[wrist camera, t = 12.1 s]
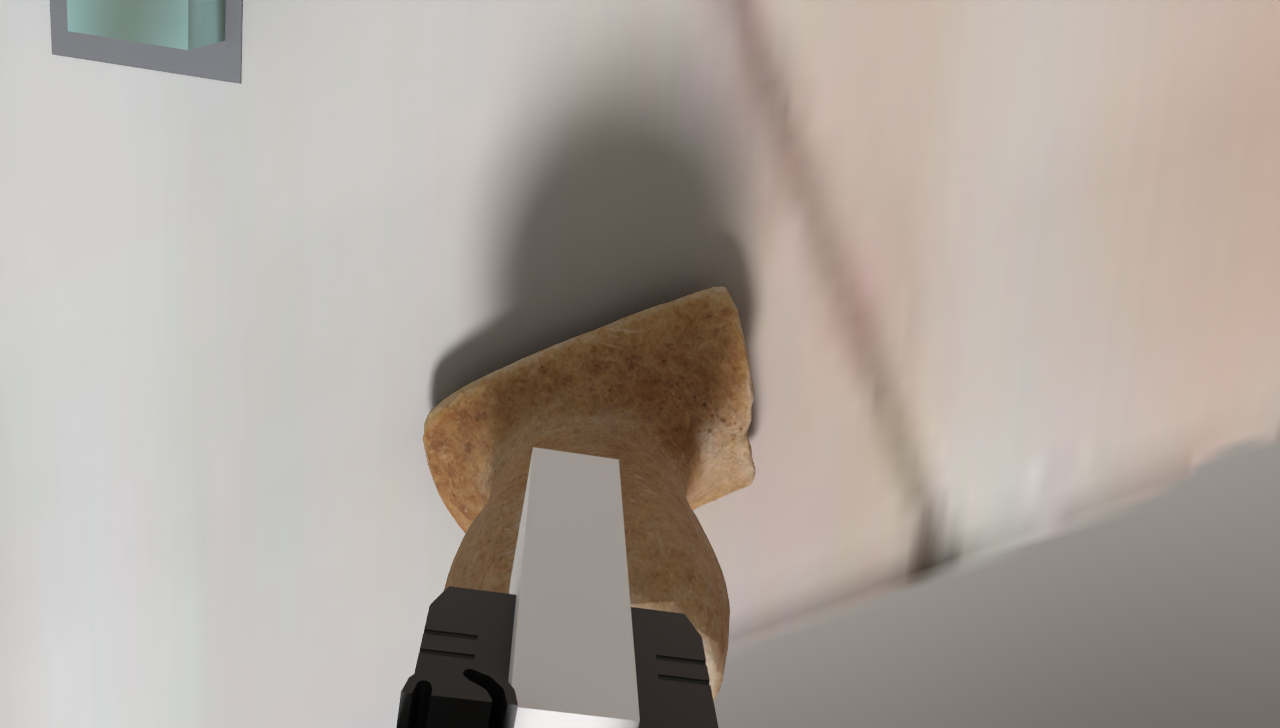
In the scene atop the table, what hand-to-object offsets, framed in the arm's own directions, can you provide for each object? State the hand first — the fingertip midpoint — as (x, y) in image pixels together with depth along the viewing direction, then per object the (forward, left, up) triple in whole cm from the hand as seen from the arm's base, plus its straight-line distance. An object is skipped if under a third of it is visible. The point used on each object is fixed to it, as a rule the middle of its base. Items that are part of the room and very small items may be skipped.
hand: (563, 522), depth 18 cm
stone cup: (-3, +11, -27) cm, 29 cm away
